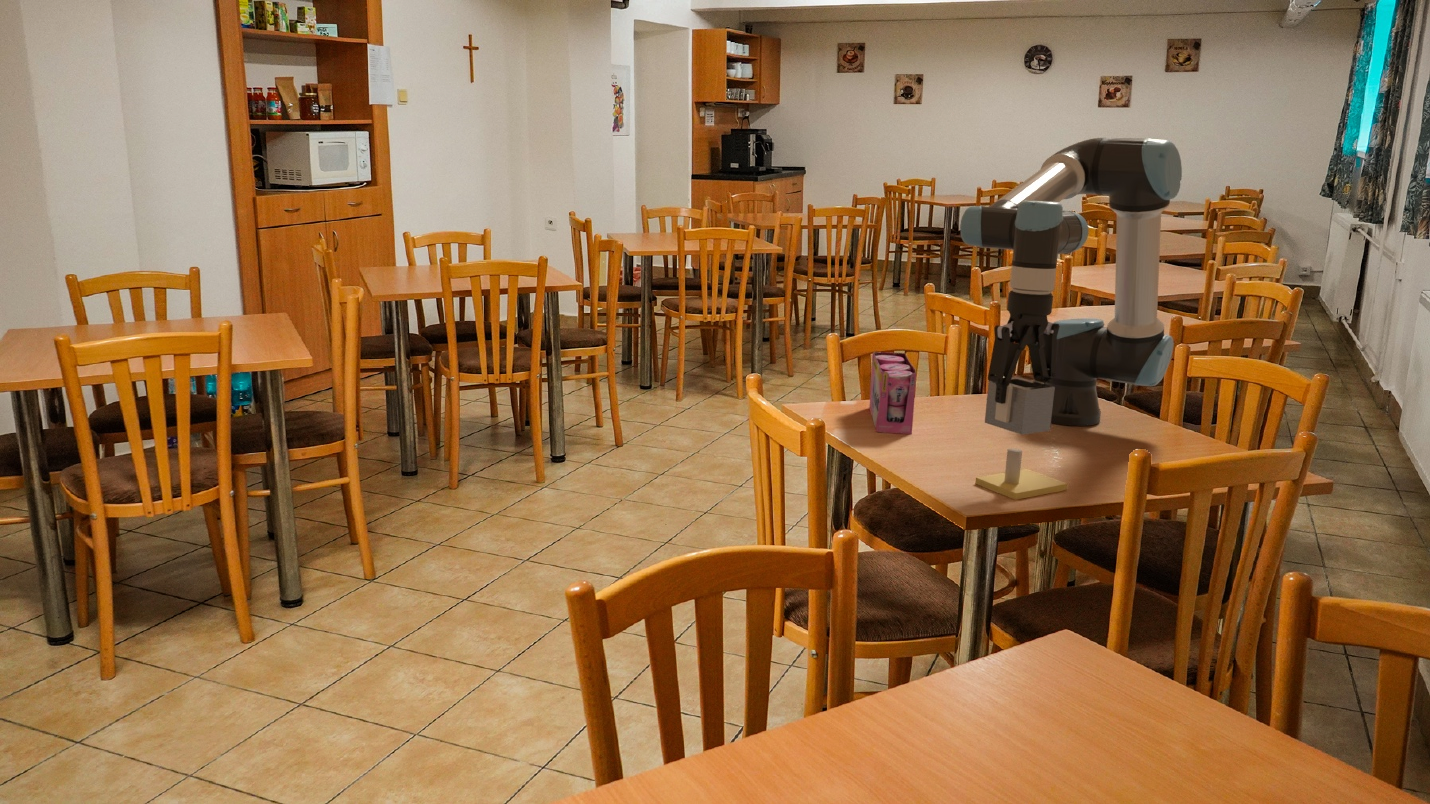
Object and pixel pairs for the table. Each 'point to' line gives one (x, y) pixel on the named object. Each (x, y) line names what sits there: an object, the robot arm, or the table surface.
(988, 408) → the grey open box
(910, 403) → the gum box
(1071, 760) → the table surface
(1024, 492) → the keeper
